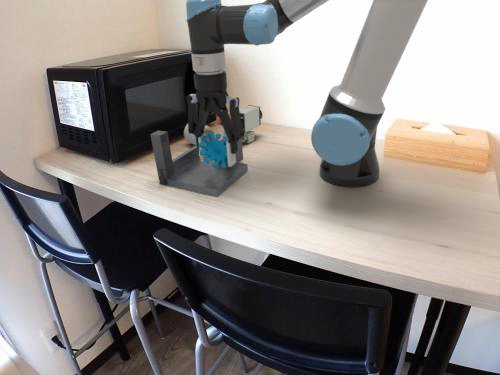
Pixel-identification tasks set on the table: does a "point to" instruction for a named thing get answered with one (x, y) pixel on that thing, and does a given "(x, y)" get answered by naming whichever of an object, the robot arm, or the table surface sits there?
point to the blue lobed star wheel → (214, 149)
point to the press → (194, 168)
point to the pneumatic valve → (250, 121)
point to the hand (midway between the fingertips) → (218, 161)
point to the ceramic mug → (191, 137)
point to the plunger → (222, 129)
